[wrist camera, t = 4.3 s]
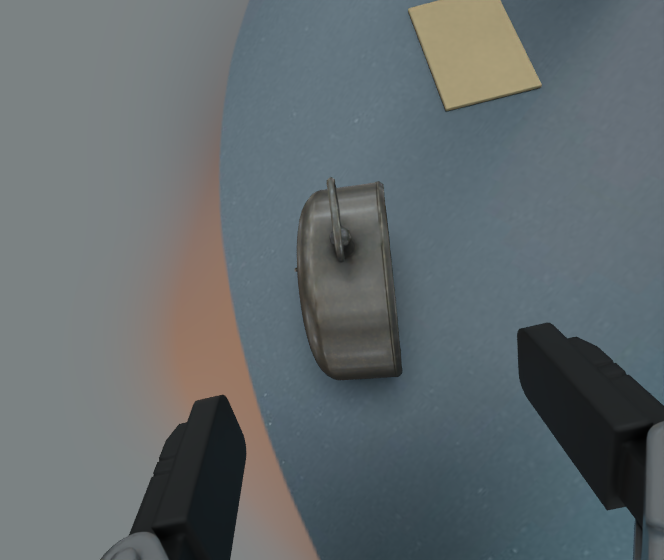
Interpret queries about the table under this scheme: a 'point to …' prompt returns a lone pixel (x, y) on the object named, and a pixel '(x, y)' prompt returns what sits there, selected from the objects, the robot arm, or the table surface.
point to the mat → (472, 51)
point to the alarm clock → (348, 282)
